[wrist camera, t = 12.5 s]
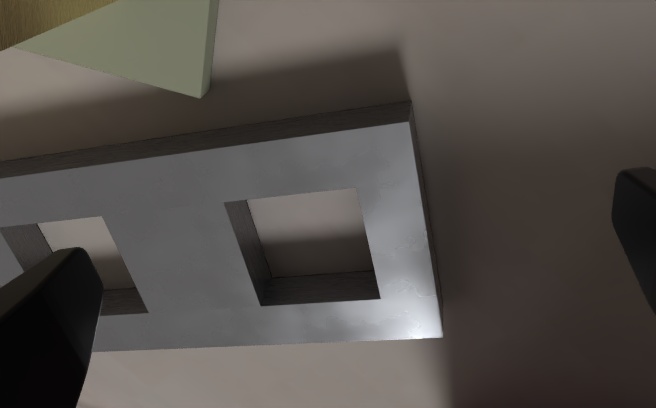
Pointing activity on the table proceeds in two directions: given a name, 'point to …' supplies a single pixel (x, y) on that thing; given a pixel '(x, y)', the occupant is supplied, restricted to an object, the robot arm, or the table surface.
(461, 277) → the table surface
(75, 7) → the brass peg
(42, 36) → the olive rubber mat
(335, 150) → the steel rail plate
